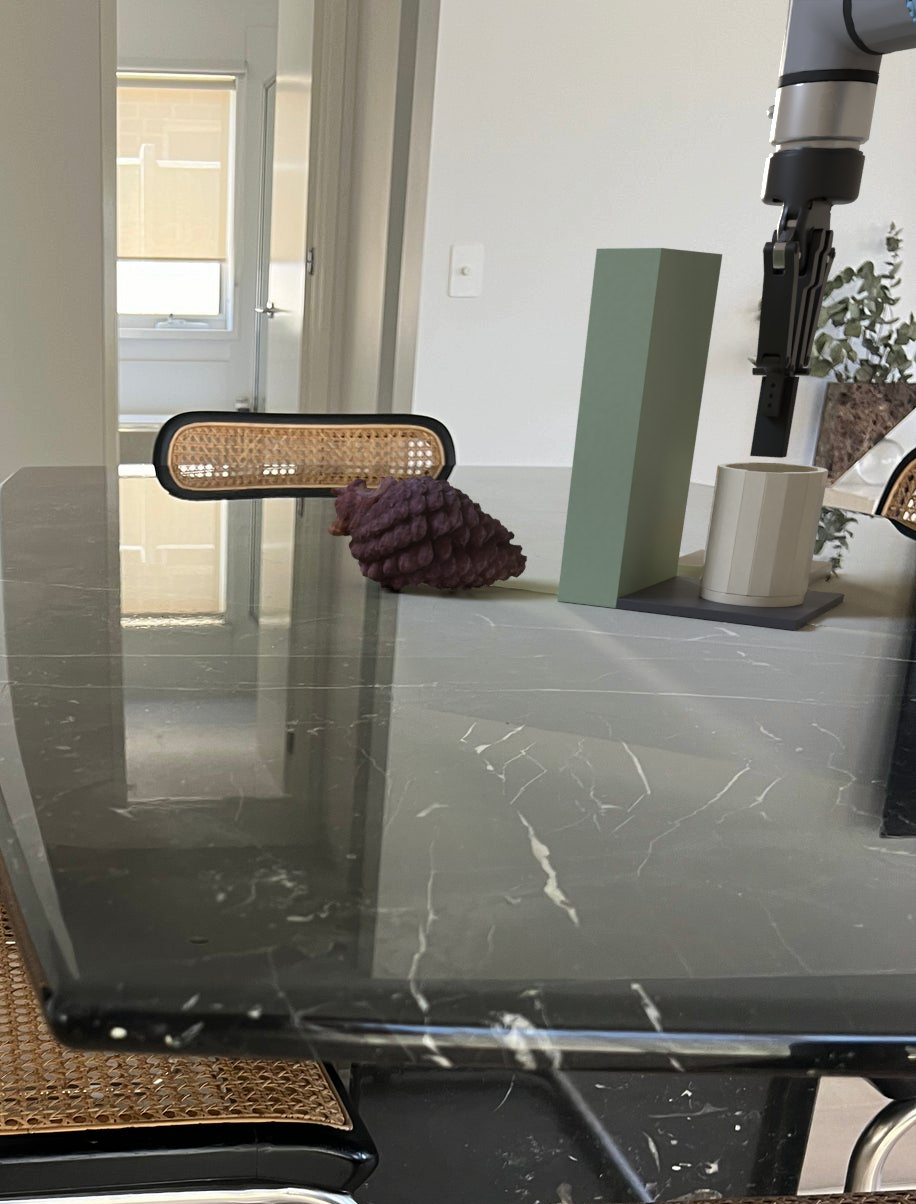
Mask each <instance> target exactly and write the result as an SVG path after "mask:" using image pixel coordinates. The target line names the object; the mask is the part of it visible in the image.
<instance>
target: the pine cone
mask: <svg viewBox="0 0 916 1204" xmlns="http://www.w3.org/2000/svg"><path fill="white" fill-rule="evenodd" d="M330 494H332V495H334V496H336V497H337V499H335V501H334V502H333V504H334V509H335V513H336V518H335V519H334V520H333V522H332V523H331V524H330V526H329V527H328V528H327V529H326V530H327V532H328V534H329V535H331V536H333V537H351V540H350V541H349V542H348V549H349V551H350V555H351V557H352V558H353V559H354V560H357V564H358V566H359V567H360V568H359V571H360V573H361V575H362V576H363V577H364V578H368V579H370V580H371V581H373V582H376V583H379V585H380V588H381V589H390V588H393V590H394V591H400V590H402V589H403V588H404V587H406V586H408V585H410V586H412V587H419V586H420V585H422V584H424V585H427V586H429V587H430V588H433V589H434V588H435V589H437V590H440V591H443V590H450V591H451V590H452V591H460V590H463V591H470V590H472V589H481V588H483V587H485V586H487V587H491V586H494V584H495V583H496V582H497V581H501V582H506V581H508V580H509V579H510V578H511V577H513V578H519V576H521V575H522V574H523V573H524V572H525V570H526V568H527V565H526V563H527V562H528V556H527V555H524V554H522V551H523V546H522V545H521V544H513V543H511V541H512V540H514V539H515V534H514V532H513V531H509V530H508V527H506V526H505V525H503V524H502V523H501V520H500V519H498V518H493V516H492V515H491V514H490V513H485V512H484V511H483V510H482V507H481V505H480V502H474V501H473V499H471V498H470V496H469V495H468V494H467V493H464V492H463V491H462V490H461V489H460V488H456V487H454V486H453V485H451V484H450V482H449V481H448V480H447V479H440V480H436V479H435V478H434V477H433V476H431V475H426V474H425V475H423V476H420V477H417V476H411V477H409V478H407V479H406V480H404V479H401V480H397V479H396V478H395V477H394V476H393V475H390V476H384V477H381V478H380V481H379V486H378V487H376V488H369V487H368V485H367V480H366V479H362V478H355V479H354V480H353V481H352V482H350V483H349V484H347V485H346V486H344V487H334V488H331V490H330Z"/></svg>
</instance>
